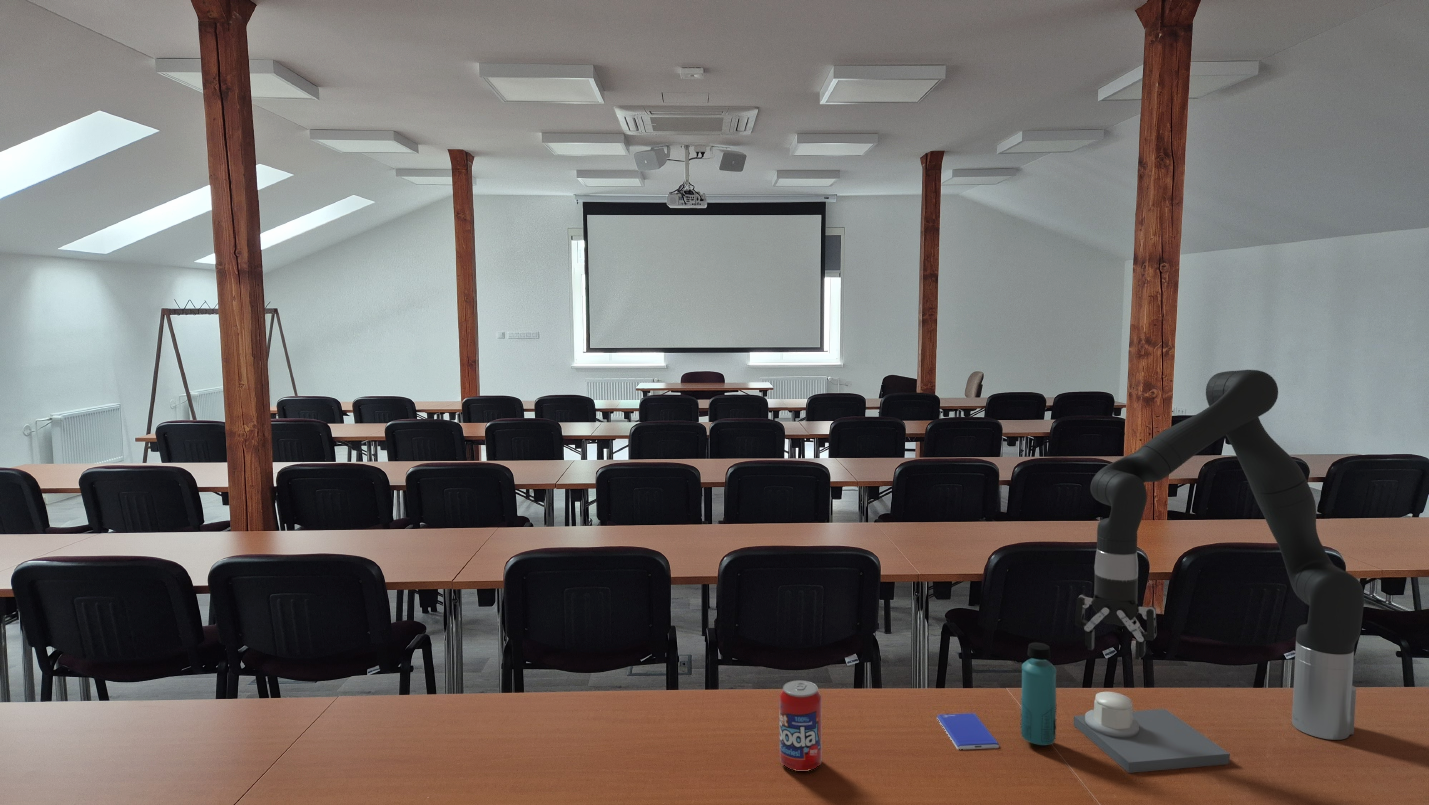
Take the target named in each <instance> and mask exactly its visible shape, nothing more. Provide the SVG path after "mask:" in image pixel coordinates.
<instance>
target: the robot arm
mask: <svg viewBox="0 0 1429 805" xmlns="http://www.w3.org/2000/svg"><path fill="white" fill-rule="evenodd" d="M1278 388H1279V387H1278V384H1277V381H1276V379H1274V377H1273V376H1272V375H1271V374H1269V373H1267V372H1266V371H1263V370H1258V369H1241V370H1240V369H1239V370H1228V371H1221V372H1218V373H1216V374H1214V375H1212V376H1211V377H1210V378H1209V380H1208V381H1207V383H1206V387H1205V397H1206V401H1207V404H1208V407H1206V408H1205V409H1203V410H1202V411H1200V412H1199V413H1196V414H1194V415H1193V416H1191V417H1188V418H1186V419H1184V420H1182V421H1180V422H1178V423H1176V424H1174V425H1172V426H1170V427H1168V428H1167V429H1164V430H1163V431H1161V432H1160V433H1158V434H1157V435H1155V436H1154V437H1153V438H1151V439H1150V440H1149V441H1147V442H1146V443H1145V444H1142V446H1141V447H1140V448H1139V449H1137V450H1136V451H1134V452H1133V453H1130V454H1128V455H1126V456H1123V457H1121V458H1119V459H1117V460H1115V461H1113V462H1111V463H1109V464H1107V465H1106V466H1104V467H1102V468H1101V469H1100V470H1098V472H1096V473H1095V475H1094V476H1093V477H1092V480H1091V483H1090V487H1089V488H1090V493H1091V496H1092V497H1093V498H1094V499H1095V500H1096V501H1098V502H1099V503H1101V504H1104V505H1106V506H1109V507H1110V508H1111V510H1110V513H1109V517H1107V518H1102V519H1101V520H1099V522H1098V524H1097V529H1096V552H1095V559H1094V566H1093V568H1094V593H1093V594H1094V595H1093V598H1092V597H1087V596H1086V595H1085V594H1080V595H1079V596H1078V597H1077V598H1076V603H1075V614H1074V615H1075V616H1074V625H1075V627H1079V628H1082V629H1083V630H1084V645H1085V647H1087V650H1090V651H1093V650H1094V649H1095V637H1096V636H1095V635H1096V634H1095V631H1096V630H1095V629H1094V627H1096V626H1097V625H1098V624H1099V623H1100V622H1101V621H1102V622H1104V624H1106V625H1107V624H1108V625H1112V624H1113V625H1117V626H1118V627H1123V626H1125V627H1126V628H1127V629H1128V631H1129V632H1130V633H1132V635H1133V636H1134V637H1135V638H1136V640H1135V653H1134V654H1135V656H1134V659H1135V660H1138V661H1140V660H1141V658H1143V657H1144V656H1145V654H1146V643H1147V641H1151V642H1152V641H1154V640H1155V638H1156V637H1157V634H1158V631H1157V611H1156V610H1157V609H1156V607H1155V606H1154V605H1153V606H1152V605H1151V606H1149V607H1145V606H1140V605H1139V602H1138V585H1139V584H1138V582H1139V581H1138V580H1139V578H1138V577H1139V561H1138V560H1139V559H1138V530H1139V527H1140V525H1141V522H1142V519H1143V515H1144V514H1145V513H1144V512H1145V509H1146V506H1147V502H1148V500H1147V499H1148V493H1147V489H1146V488H1147V487H1146V485H1145V483H1155V482H1157V483H1158V482H1159V481H1162V480H1164V479H1166V478H1167V477H1168V476H1170V475H1171V474H1172V473H1174V471H1176V470H1177V469H1178V468H1180V467H1181V466H1182V465H1183V464H1185V463H1187V462H1188V461H1189V460H1190V459H1191V458H1193V457H1194V456H1195V455H1197V454H1199V452H1201V451H1202V450H1204V449H1206V448H1207V447H1209V446H1210V445H1212V444H1214V442H1215V443H1216V441H1218V440H1219V439H1221V438H1223V437H1225V436H1226V437H1227V439H1228V441H1229V443H1230V445H1231V447H1232V449H1233V451H1234V454H1235V456H1236V457H1237V460H1238V462H1239V464H1240V467H1241V469H1242V470H1243V472H1244V475H1245V478H1246V479H1247V482H1248V484H1249V487H1250V489H1251V492H1252V494H1253V496H1254V499H1255V501H1256V503H1257V505H1258V508H1259V509H1260V511H1261V512H1262V515H1263V517H1264V519H1265V521H1266V524H1267V526H1268V528H1269V530H1270V532H1271V534H1272V536H1273V538H1274V539H1275V542H1276V543H1277V546H1278V549H1279V551H1280V553H1281V556H1282V560H1283V562H1284V565H1285V569H1286V573H1287V576H1288V578H1289V579H1288V580H1289V582H1290V586H1291V588H1292V590H1293V592H1294V594H1295V595H1296V596H1297V598H1298V599H1300V600H1301V601H1302V602H1304V604H1306V605H1307V606H1309V607H1308V616H1307V623H1304V624H1301V625H1299V626H1298V627H1297V629H1296V635H1295V636H1296V637H1295V655H1294V670H1293V672H1294V675H1293V677H1294V678H1293V693H1292V694H1293V696H1292V712H1291V714H1292V715H1291V724H1292V726H1293V727H1294V728H1295V729H1297V730H1299V731H1300V732H1303V733H1304V734H1307V735H1309V736H1313V737H1316V738H1319V739H1325V740H1332V741H1335V740H1337V741H1340V740H1345V739H1347V738H1349V737H1350V735H1355V717H1356V716H1355V715H1356V702H1357V701H1356V700H1357V687H1356V686H1354V685H1353V677H1354V657H1355V655H1354V654H1355V644H1356V643H1357V641H1358V640H1359V638H1360V635H1361V632H1362V631H1361V630H1362V624H1363V617H1364V616H1363V615H1364V614H1363V613H1364V607H1365V606H1364V605H1365V594H1364V589H1363V586H1362V584H1361V582H1360V581H1359V579H1357V577H1355V576H1354V575H1353V574H1351V573H1349V572H1347V571H1345V570H1344V569H1342V568H1340V567H1337V566H1336V565H1335V564H1334V563H1333V562H1332V561H1331V559H1330V557H1329V555H1328V553H1327V552H1326V550H1325V547H1324V546H1323V544H1322V542H1321V539H1320V537H1319V535H1318V530H1317V505H1316V504H1317V503H1316V501H1315V497H1314V494H1313V491H1312V488H1310V485H1309V483H1308V480H1307V478H1306V476H1305V473H1304V472H1303V470H1302V468H1301V467H1300V466H1299V465H1298V463H1297V462H1296V461H1295V459H1293V458H1292V457H1291V455H1290V454H1288V453H1287V451H1285V449H1283V448H1282V447H1281V446H1280V444H1278V443H1277V442H1276V441H1275V440H1274V439H1273V438H1272V437H1271V436H1270V434H1269V433H1268V432H1267V430H1266V428H1264V426H1263V424H1262V422H1261V420H1260V418H1259V417H1261V416H1263V415H1264V414H1266V413H1268V412H1269V411H1270V410H1272V408H1273V407H1274V406H1275V404H1276V402H1277V400H1278V398H1279V397H1278V396H1279V389H1278ZM1090 605H1091V606H1092V608H1093V609H1094V610H1095V612H1096V613H1095V615H1094V616H1093V617H1092V618H1091V619H1090V620H1089V621H1088V620H1086V619H1085V615H1086V614H1085V613H1086V609H1087V608H1089V606H1090ZM1138 614H1141V616H1142V618H1143V619H1144V620H1146V631H1145V630H1144V629H1143V628H1142V627H1141V624H1140V622H1139V621H1138V619H1137V618H1136V616H1138Z"/></svg>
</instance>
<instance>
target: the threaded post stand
mask: <svg viewBox="0 0 1429 805" xmlns="http://www.w3.org/2000/svg"><path fill="white" fill-rule="evenodd" d="M1073 726H1074V728H1076V729H1077V730H1078V731H1079V732H1081V733H1082V734H1083V735H1084V736H1085V737H1086V738H1087V739H1088V740H1090V741H1091V742H1092V743H1093V744H1095V745H1096V746H1097V747H1098V748H1099V749H1100V750H1101V751H1103V752H1104V753H1105V754H1106V755H1107V756H1108V757H1109V758H1111V759H1112V760H1113V761H1114V762H1115V763H1116V764H1117V765H1119V766H1120V767H1121V768H1122V769H1123V770H1124V771H1125V772H1127V773H1128V774H1130V773H1131V774H1132V773H1143V772H1154V771H1165V770H1178V769H1179V770H1180V769H1189V768H1198V767H1199V768H1200V767H1211V766H1221V765H1230V757H1231V753H1229V752H1228V751H1226V749H1224V748H1222V747H1221V746H1220V745H1218V744H1217V743H1215V742H1214V741H1212V740H1211V739H1209V738H1208V737H1206V736H1205V735H1204V734H1203V733H1201V732H1199V730H1197V729H1195V728H1193V727H1192V726H1191V725H1189V724H1188V723H1186V722H1185V721H1184V720H1182V719H1180V718H1179V717H1177V716H1176V715H1175V714H1174V713H1172V712H1170V711H1169V710H1168V709H1166V708H1158V709H1157V708H1156V709H1155V708H1154V709H1146V710H1145V709H1144V710H1142V709H1141V710H1133V717H1132V724H1131V726H1130V728H1126V729H1114V728H1110V727H1106V726H1103V725H1101V724H1099V723H1098V722H1097V721H1096V720H1095V719H1094V708H1093V709H1090V710H1088V711H1087V712H1085V714H1081V715H1073Z"/></svg>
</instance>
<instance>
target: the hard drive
mask: <svg viewBox="0 0 1429 805" xmlns="http://www.w3.org/2000/svg"><path fill="white" fill-rule="evenodd" d="M937 719H938V720H939V722H940V723H939V722H938V723H939V725H940V726H941V725H942V726H943V727H942V726H941V727H942V729H943V728H944V729H945V730H944V729H943V730H944V732H945V731H946V732H945V733H946V735H947V734H948V735H947V736H948V738H949V737H950V738H949V739H950V741H951V740H952V741H951V742H952V744H953V745H954V746H955V748H956V750H957V751H958V750H959V749H960V750H961V749H963V750H977V749H978V750H979V749H980V750H981V749H999V748H1000V744H999V742H998V741H997V740H996V738H995V737H994V736H993V734H992V733H991V732H990V731H989V730H988V727H986V726H985V724H984V723H983V722H982V721H981V719H980V718H979V716H978V715H977V714H976V713H975V712H969V713H966V712H965V713H964V712H963V713H946V714H943V713H942V714H938V715H937V716H936V720H937ZM938 720H937V721H938ZM960 750H959V751H960Z"/></svg>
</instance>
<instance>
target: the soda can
mask: <svg viewBox="0 0 1429 805" xmlns="http://www.w3.org/2000/svg"><path fill="white" fill-rule="evenodd" d="M778 698H779V700H778V701H779V703H778V704H779V705H778V706H779V707H778V708H779V710H778V711H779V712H778V713H779V714H778V715H779V761H780V763H781V765H783V766H784V765H785V766H787V767H788V768H791V769H796V770H808V769H814V768H816V767H817V766H819V765H820V766H821V764H822V763H823V762H822V761H823V760H822V759H823V714H822V712H823V704H822V702H823V701H822V700H823V698H822V694H821V693H820V691H819V687H818V686H817V684H815V683H814V682H811V681H808V680H800V679H799V680H791V681H788V682H786V683H785V684H783V686H782V690H781V692H780V693H779V697H778ZM785 766H784V767H785ZM820 766H819V767H820ZM788 768H787V769H788ZM817 768H818V767H817ZM817 768H816V769H817ZM814 770H815V769H814Z"/></svg>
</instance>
